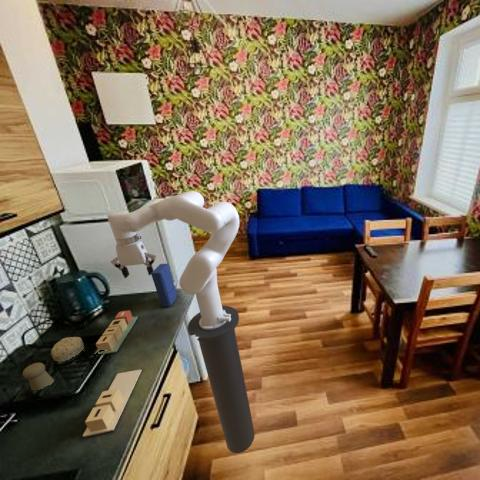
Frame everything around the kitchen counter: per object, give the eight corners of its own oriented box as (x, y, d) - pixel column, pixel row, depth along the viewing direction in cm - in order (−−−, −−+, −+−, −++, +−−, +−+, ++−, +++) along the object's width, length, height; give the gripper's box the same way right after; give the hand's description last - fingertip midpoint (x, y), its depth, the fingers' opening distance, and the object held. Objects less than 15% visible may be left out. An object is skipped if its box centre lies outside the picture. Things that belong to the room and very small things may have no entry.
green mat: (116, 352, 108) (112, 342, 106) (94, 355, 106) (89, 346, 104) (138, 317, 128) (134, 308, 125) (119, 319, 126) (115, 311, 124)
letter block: (128, 324, 122) (125, 316, 120) (117, 325, 121) (114, 317, 120) (132, 317, 126) (129, 310, 124) (122, 319, 125) (119, 311, 124)
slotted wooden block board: (113, 430, 80) (107, 419, 78) (83, 437, 78) (76, 426, 76) (141, 370, 100) (137, 360, 97) (118, 374, 98) (113, 364, 96)
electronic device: (168, 296, 143) (158, 263, 135) (178, 295, 143) (169, 263, 135) (160, 307, 134) (149, 273, 126) (171, 306, 134) (161, 272, 126)
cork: (55, 379, 97) (41, 356, 92) (59, 387, 94) (46, 364, 89) (32, 391, 92) (17, 368, 88) (36, 401, 89) (20, 377, 85)
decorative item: (68, 372, 104) (77, 356, 101) (40, 363, 101) (48, 345, 98) (85, 353, 112) (94, 338, 110) (60, 344, 109) (68, 328, 107)
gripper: (152, 234, 117) (162, 268, 123) (108, 238, 113) (121, 273, 120) (146, 241, 110) (157, 276, 117) (99, 245, 107) (113, 282, 113)
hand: (139, 274), depth 118 cm, fingers open, 9 cm apart
